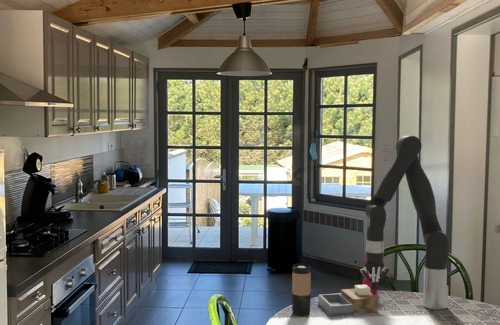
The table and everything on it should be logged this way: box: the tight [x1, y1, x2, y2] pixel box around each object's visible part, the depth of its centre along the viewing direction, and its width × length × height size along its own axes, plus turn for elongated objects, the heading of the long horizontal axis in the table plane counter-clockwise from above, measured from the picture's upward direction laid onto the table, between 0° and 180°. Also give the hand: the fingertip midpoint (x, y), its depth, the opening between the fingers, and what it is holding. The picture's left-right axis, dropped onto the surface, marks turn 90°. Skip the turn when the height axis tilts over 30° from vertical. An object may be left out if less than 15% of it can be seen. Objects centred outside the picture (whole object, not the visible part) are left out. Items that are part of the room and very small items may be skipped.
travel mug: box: [291, 263, 312, 317], centre depth 231 cm, size 8×8×20 cm
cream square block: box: [354, 284, 370, 295], centre depth 240 cm, size 5×5×3 cm
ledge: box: [340, 288, 379, 314], centre depth 240 cm, size 11×14×6 cm
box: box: [317, 292, 355, 317], centre depth 238 cm, size 10×16×4 cm, turn 11°
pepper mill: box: [362, 255, 379, 296], centre depth 258 cm, size 7×7×20 cm
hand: (374, 290), depth 241 cm, fingers closed
